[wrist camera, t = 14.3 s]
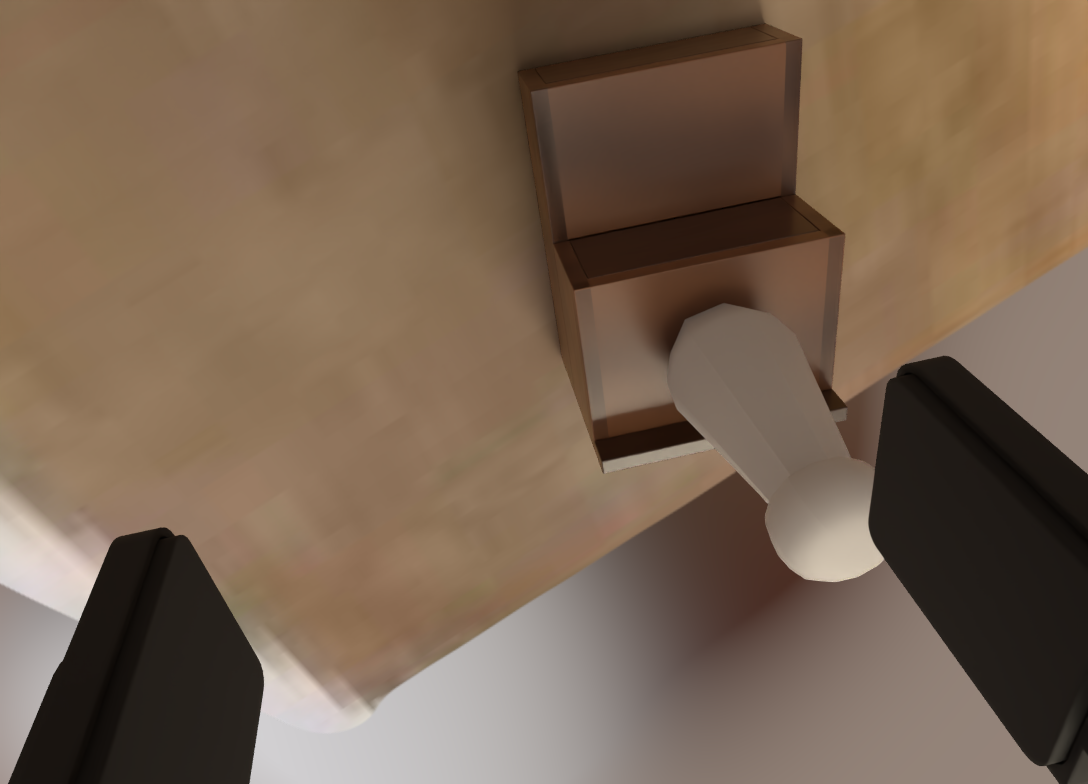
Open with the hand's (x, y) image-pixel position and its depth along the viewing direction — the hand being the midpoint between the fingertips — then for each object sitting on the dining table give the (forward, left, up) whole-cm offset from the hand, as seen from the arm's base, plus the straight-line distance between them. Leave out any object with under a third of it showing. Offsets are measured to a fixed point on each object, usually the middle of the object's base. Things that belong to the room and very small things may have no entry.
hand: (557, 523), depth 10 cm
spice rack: (+9, +10, -30) cm, 33 cm away
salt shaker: (+12, +10, -22) cm, 26 cm away
